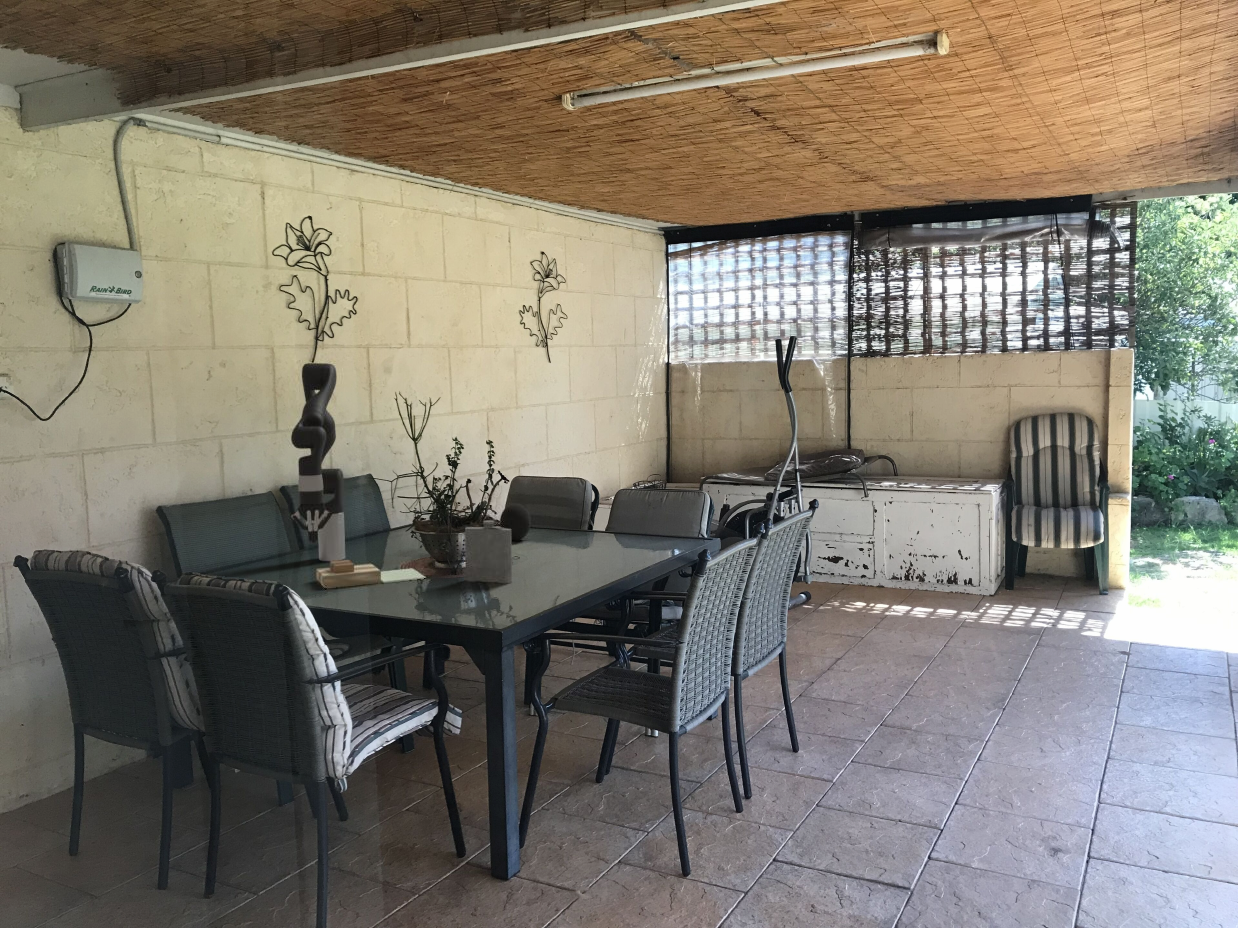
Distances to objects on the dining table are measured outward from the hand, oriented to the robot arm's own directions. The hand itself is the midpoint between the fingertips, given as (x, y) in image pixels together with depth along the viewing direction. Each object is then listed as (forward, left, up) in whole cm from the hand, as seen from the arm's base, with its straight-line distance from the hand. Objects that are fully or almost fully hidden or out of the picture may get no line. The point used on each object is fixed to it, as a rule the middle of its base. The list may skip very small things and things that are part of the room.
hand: (312, 542), depth 316 cm
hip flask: (+21, +52, -14) cm, 58 cm away
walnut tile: (0, +9, -9) cm, 13 cm away
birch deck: (0, +11, -14) cm, 18 cm away
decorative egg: (-44, +87, -14) cm, 99 cm away
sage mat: (0, +28, -14) cm, 31 cm away
